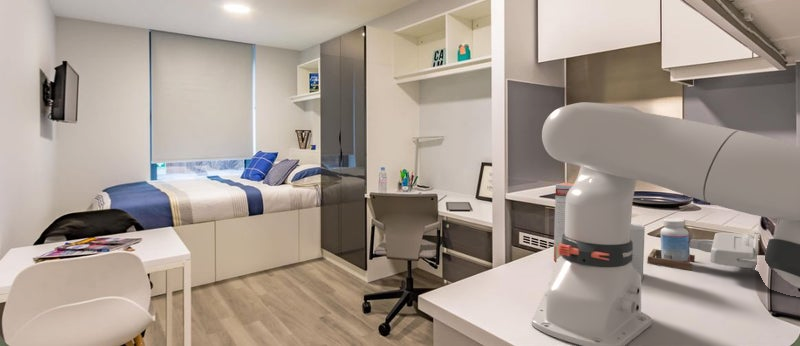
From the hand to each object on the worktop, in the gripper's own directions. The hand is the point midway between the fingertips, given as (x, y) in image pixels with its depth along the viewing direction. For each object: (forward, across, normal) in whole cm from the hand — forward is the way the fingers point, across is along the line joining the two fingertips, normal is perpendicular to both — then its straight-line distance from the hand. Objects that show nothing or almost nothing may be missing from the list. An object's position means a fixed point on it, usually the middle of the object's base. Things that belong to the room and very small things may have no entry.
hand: (689, 243), depth 101 cm
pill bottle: (+3, -1, -6) cm, 6 cm away
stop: (+4, 0, -6) cm, 7 cm away
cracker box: (+20, -17, -6) cm, 27 cm away
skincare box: (+9, -18, -6) cm, 21 cm away
